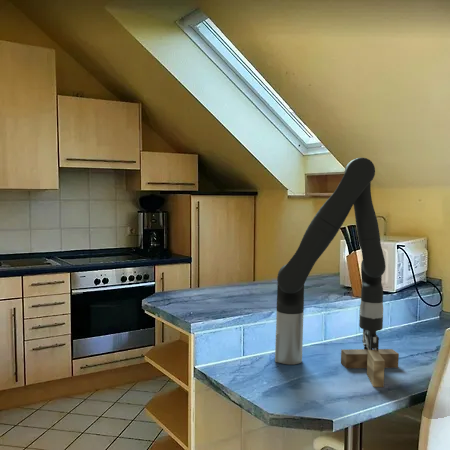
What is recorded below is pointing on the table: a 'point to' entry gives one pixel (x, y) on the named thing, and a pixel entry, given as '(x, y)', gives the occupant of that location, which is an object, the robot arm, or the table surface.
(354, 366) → the batten
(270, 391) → the table surface
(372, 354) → the fulcrum
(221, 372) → the table surface
